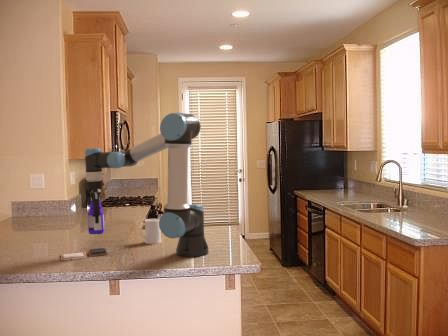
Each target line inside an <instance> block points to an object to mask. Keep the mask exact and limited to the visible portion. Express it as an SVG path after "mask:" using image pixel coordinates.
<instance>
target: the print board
mask: <svg viewBox="0 0 448 336" xmlns="http://www.w3.org/2000/svg"><path fill="white" fill-rule="evenodd" d="M60 254H61V256H60V257H61V261H62V260H64V261H71V260H70V259H72V260H79V259H80V258H81V259H87V258H88V256H87V253H86V251H75V252H66V253H60Z"/></svg>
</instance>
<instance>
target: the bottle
mask: <svg viewBox="0 0 448 336" xmlns="http://www.w3.org/2000/svg"><path fill="white" fill-rule="evenodd" d="M99 200H100V201H99V207H100V230H94V217H92V215H94V209H93V202H92V198H91V197H90V204H89V211H88V212H87V221H88V222H87V223H88V224H87V226H88V227H87V228H88V234H90V235H102V234H103V233H104V232H105V218H104V217H105V215H104V210H103V209H102V207H103V206H102V204H101V197H100V196H99Z"/></svg>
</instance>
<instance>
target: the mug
mask: <svg viewBox="0 0 448 336" xmlns="http://www.w3.org/2000/svg"><path fill="white" fill-rule="evenodd" d="M159 220H160V218H148V219H147V218H146V219H144V223H143V224H141V226H140V228H139V235H140V237H142V238H143V239H145V242H144V243H145V244H147V245H156V244H157V245H158V244H160V243H162V232H161V230H160V228H159ZM143 227H144V234H145V236H144V235H142V233H141V232H142V228H143Z"/></svg>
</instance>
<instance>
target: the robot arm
mask: <svg viewBox="0 0 448 336" xmlns="http://www.w3.org/2000/svg"><path fill="white" fill-rule="evenodd" d="M201 129H202V127H201V123H200V120H199V119H198V117H197V116H195V115H194V114H190V113H183V112H170V113H168V114H166V115H165V116H164V117H163V118H162V120H161V121H160V125H159V131H160V133H159V134H157V135H154V136H152V137H151V138H149V139H147V140H145V141H142V142H140V143H139V144H137V145H135V146H133V147H131V148H129V149H127V150H124V151H122V150H121V151H106V152H103V151H102V149H101V148H99V147H95V148H93V147H91V148H89V147H87V148H86V149H85V150H84V164H85V180H86V182H85V183H86V184H85V186H86V190H91V192H90V194H89V195H90V199H91V198H92V202H93V209H94V215H92V217H94V230H100V207H99V201H100V202H101V199H100V200H99V197H100V196H101V195H100V192H99V191H98V190H101V189H103V187H104V185H103V182H104V181H103V176H104V173H103V169H120V168H126V167H127V168H128V167H134V166H136V165H137V164H138V163H139V162H141V161H142V160H145V159H147V158H149V157H151V156H153V155H155V154H158V153H160V152H163V151H164V150H166V149H167V194H166V195H167V197H166V199H167V202H166V203H165V205H164V206H163V214H161V216H160V217H159V219H160V220H159V228H160V230H161V234H162V235H164V236H165V237H167V238H168V239H178V242H177V245H176V248H175V253H176V255H177V256H178V257H184V258H193V257H202V256H205V255H208V254H209V253H210V252H209V245H208V243H207V240H206V238H205V223H204V220H205V218H204V217H205V215H204V214H205V212H204V207H203V205H202V204H189V203H188V169H189V168H188V167H189V165H188V163H189V162H188V161H189V159H188V158H189V147H191V146H192V142H193V141H192V140H193V139H195V138H197V137H198V136H199V133H201Z"/></svg>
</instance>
